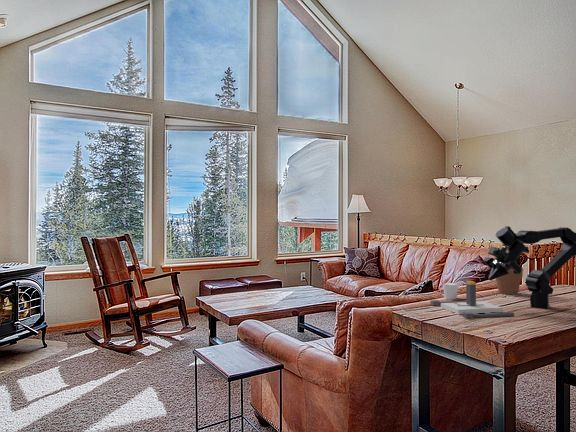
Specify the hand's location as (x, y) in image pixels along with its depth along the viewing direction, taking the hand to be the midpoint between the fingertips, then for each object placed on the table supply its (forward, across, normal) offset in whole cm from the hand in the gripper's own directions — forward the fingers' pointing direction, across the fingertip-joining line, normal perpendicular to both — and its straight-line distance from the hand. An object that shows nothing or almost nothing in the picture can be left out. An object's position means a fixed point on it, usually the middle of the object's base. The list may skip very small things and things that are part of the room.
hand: (489, 279), depth 188 cm
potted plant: (-15, -34, +33) cm, 50 cm away
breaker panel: (+15, 0, +3) cm, 15 cm away
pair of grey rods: (+15, 0, +3) cm, 15 cm away
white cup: (+11, -27, +7) cm, 30 cm away
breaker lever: (+13, 0, +1) cm, 13 cm away
